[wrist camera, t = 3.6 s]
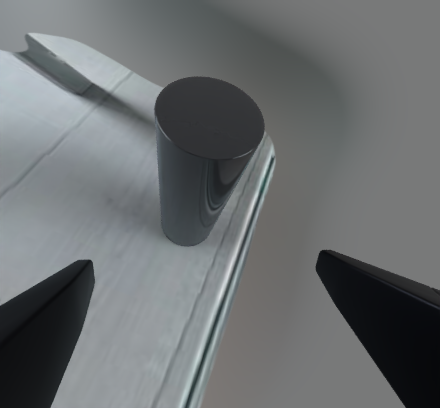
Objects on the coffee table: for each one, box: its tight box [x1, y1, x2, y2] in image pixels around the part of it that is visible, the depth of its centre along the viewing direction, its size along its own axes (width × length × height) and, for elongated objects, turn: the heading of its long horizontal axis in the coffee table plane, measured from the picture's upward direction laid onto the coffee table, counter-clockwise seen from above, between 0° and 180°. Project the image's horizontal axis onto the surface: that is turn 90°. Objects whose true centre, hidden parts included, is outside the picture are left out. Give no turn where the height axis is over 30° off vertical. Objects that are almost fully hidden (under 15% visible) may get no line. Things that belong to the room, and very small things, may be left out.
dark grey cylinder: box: [154, 77, 264, 246], centre depth 17 cm, size 5×5×14 cm
